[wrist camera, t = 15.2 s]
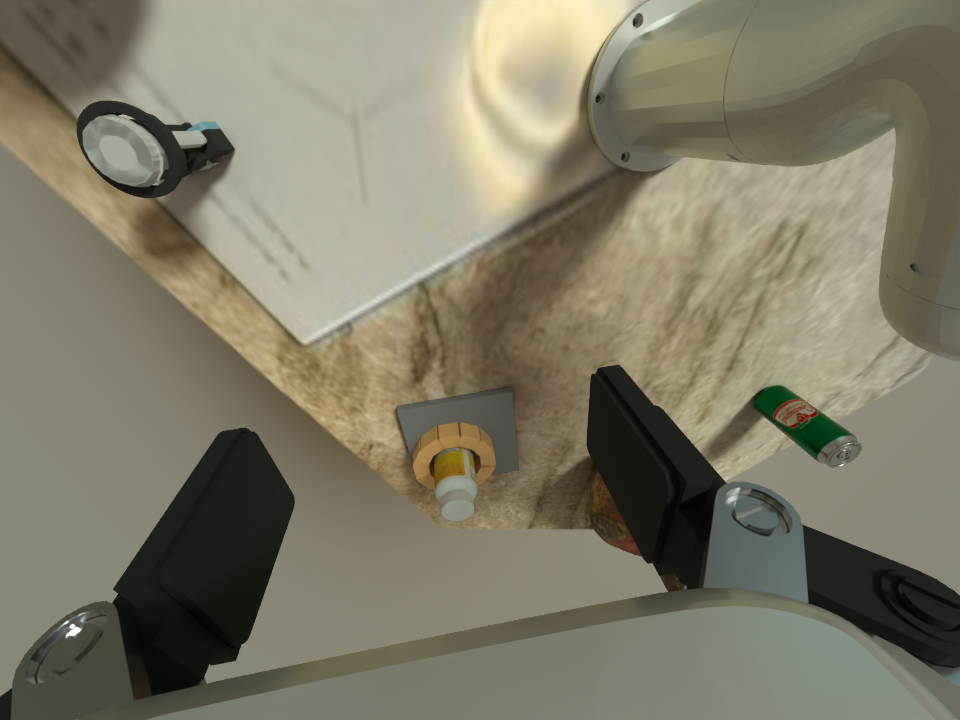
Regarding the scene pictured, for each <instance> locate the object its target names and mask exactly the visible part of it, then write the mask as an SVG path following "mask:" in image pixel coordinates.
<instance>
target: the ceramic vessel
mask: <svg viewBox="0 0 960 720" xmlns="http://www.w3.org/2000/svg"><path fill="white" fill-rule="evenodd" d="M590 504H591V512H592V514H591V522H592V526H593V528H594V530H595V531H596V533H597V534H598V535H599V536H600V537H601V538H602V539H603V540H604V541H605V542H606V543H608V544H609V545H612V546H614V547H617V548H620V549H622V550H624V551H626V552H629V553H632V554H634V555H638V556H642V555H641V553H640V551H639V549H638V547H637V545H636V544H635V542H634V540H633V538H632V536H631V534H630V532H629V530H628V528H627V526H626V524H625V522H624V520H623V518H622V516H621V514H620V512H619V511H618V509H617V507H616V505H615V503H614V501H613V499H612V497H611V495H610V493H609V491H608V489H607V487H606V485H605V483H604V481H603V479H602V478H601V476H600V474H599V472H597V474H596V476H595V478H594V481H593V484H592V487H591V492H590ZM660 577H661V579H662V581H663V583H664V585H665V587H666V589H667V590H668V592H673V591H681V590H684V586H685V585H683V584H681V583H680V581H679V580H678V578H677V576H676V574H675V573H671V574H666V575H661V576H660Z"/></svg>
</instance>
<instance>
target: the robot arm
mask: <svg viewBox="0 0 960 720" xmlns="http://www.w3.org/2000/svg"><path fill="white" fill-rule="evenodd" d="M633 20H634V21H635V26H633ZM596 96H598V97H599V100H598V102H596V100H595V98H596ZM587 107H588V120H589V124H590V128H591V132H592V135H593V137H594V140H595V142H596V144H597V146H598V147H599V149H600V150H601V151H602V153H603V154H604V155H605V157H607V158H608V159H609V160H610V161H611V162H613V163H614V164H616V165H618V166H620V167H622V168H624V169H628V170H632V171H642V172H647V171H654V170H659V169H662V168H664V167H667V166H670V165H671V164H673V163H675V162H677V161H678V160H680V159H682V158H683V157H689V158H700V159H710V160H720V161H730V162H740V163H751V164H761V165H775V166H807V165H814V164H819V163H822V162H826V161H829V160H832V159H836V158H838V157H841V156H844V155H846V154H848V153H851V152H853V151H855V150H857V149H859V148H861V147H863V146H864V145H866V144H868V143H870V142H872V141H874V140H876V139H877V138H879V137H881V136H882V135H884V134H885V133H887V132H889V131H890V130H892V129H893V128H895V132H896V146H895V155H894V163H893V171H892V175H893V183H892V190H891V197H890V203H889V210H888V216H887V223H886V230H885V236H884V243H883V250H882V256H881V268H880V275H879V300H880V305H881V308H882V311H883V314H884V316H885V318H886V319H887V321H888V322H889V324H890V325H891V327H892V328H893V329H894V330H895V331H896V332H897V333H898V334H900V335H901V336H902V337H903V338H905V339H906V340H908V341H909V342H911V343H912V344H914V345H916V346H918V347H920V348H922V349H924V350H927V351H929V352H931V353H934V354H936V355H939V356H942V357H945V358H948V359H951V360H954V361H958V362H960V0H647V1H645V2H643V3H642V4H640V5H639V6H637V7H636V8H634V9H633V10H632V11H630V12H629V13H628V14H627V15H626V16H625V17H624V18H623V19H622V20H621V21H620V22H619V23H618V24H617V26H616V27H615V28H614V30H613V31H612V32H611V34H610V35H609V36H608V38H607V40H606V41H605V43H604V45H603V47H602V49H601V50H600V52H599V55H598V57H597V60H596V62H595V65H594V68H593V70H592V75H591V79H590V84H589V89H588V102H587ZM622 154H623V158H622V159H621V156H622ZM587 448H588V452H589V454H590V456H591V458H592V460H593V462H594V464H595V466H596V468H597V470H598V472H599V474H600V476H601V478H602V479H603V481H604V483H605V485H606V487H607V489H608V491H609V493H610V495H611V497H612V499H613V501H614V503H615V505H616V507H617V509H618V511H619V512H620V514H621V516H622V518H623V520H624V522H625V524H626V526H627V528H628V530H629V532H630V534H631V536H632V538H633V540H634V542H635V544H636V545H637V547H638V549H639V551H640V553H641V555H642V557H643V559H644V560H645V561H646V562H647V563H653V565H654V567H655V568H656V571H657V572H658V574H659V576H661V575H666V574H671V573H675V574H676V576H677V578H678V580H679V581H680V583H681V584H683V585H685V586H684V590H681V591H673V592H665V593H658V594H652V595H647V596H641V597H635V598H630V599H624V600H618V601H613V602H608V603H602V604H596V605H590V606H586V607H580V608H575V609H570V610H565V611H560V612H555V613H550V614H545V615H540V616H535V617H530V618H524V619H519V620H514V621H509V622H504V623H499V624H495V625H489V626H484V627H479V628H474V629H469V630H464V631H459V632H455V633H449V634H444V635H440V636H435V637H429V638H424V639H420V640H414V641H410V642H405V643H400V644H395V645H390V646H385V647H381V648H376V649H370V650H365V651H360V652H356V653H350V654H346V655H341V656H337V657H331V658H326V659H321V660H317V661H312V662H307V663H302V664H297V665H293V666H288V667H283V668H278V669H274V670H269V671H264V672H259V673H254V674H249V675H245V676H240V677H235V678H230V679H226V680H221V681H216V682H212V683H208V684H207V683H206V680H205V678H204V676H205V673H206V671H207V668H208V666H209V664H210V665H217V664H222V663H227V662H232V661H236V658H237V656H238V653H239V650H240V647H241V645H242V644H244V643H245V642H246V641H247V640H248V638H249V636H250V634H251V631H252V628H253V625H254V622H255V619H256V616H257V613H258V610H259V607H260V605H261V602H262V599H263V596H264V593H265V590H266V587H267V584H268V581H269V578H270V576H271V573H272V570H273V567H274V564H275V561H276V558H277V555H278V552H279V549H280V546H281V543H282V541H283V538H284V535H285V532H286V529H287V526H288V523H289V520H290V517H291V515H292V512H293V508H294V503H295V500H294V495H293V493H292V492H291V490H290V488H289V486H288V485H287V483H286V481H285V480H284V478H283V476H282V475H281V473H280V471H279V470H278V468H277V466H276V465H275V463H274V461H273V460H272V458H271V456H270V455H269V453H268V451H267V450H266V448H265V446H264V445H263V443H262V441H261V440H260V438H259V436H258V435H257V433H255V432H251V431H250V430H249V429H247V428H239V429H234V430H227V431H222V432H220V433H219V434H218V435H217V436H216V438H215V439H214V441H213V443H212V444H211V445H210V447H209V448H208V450H207V451H206V453H205V454H204V456H203V457H202V459H201V460H200V462H199V463H198V465H197V466H196V467H195V469H194V471H193V472H192V473H191V475H190V476H189V478H188V479H187V481H186V482H185V484H184V485H183V487H182V488H181V490H180V491H179V492H178V494H177V495H176V497H175V498H174V500H173V501H172V503H171V504H170V506H169V507H168V509H167V510H166V512H165V513H164V515H163V516H162V518H161V519H160V521H159V522H158V524H157V525H156V526H155V528H154V529H153V531H152V532H151V534H150V535H149V537H148V538H147V540H146V541H145V543H144V544H143V546H142V547H141V549H140V550H139V552H138V553H137V554H136V556H135V558H134V559H133V560H132V562H131V563H130V565H129V566H128V568H127V569H126V571H125V572H124V574H123V575H122V577H121V578H120V580H119V581H118V582H117V584H116V586H115V587H114V589H113V590H114V591H116V592H117V593H118V595H117V596H116V598H115V600H114V601H113V603H110V602H107V601H101V602H94V603H91V604H89V605H86V606H83V607H81V608H79V609H77V610H75V611H74V612H72V613H70V614H68V615H67V616H65V617H64V618H62V619H61V620H60V621H58V622H57V623H56V624H54V625H53V626H52V627H51V628H50V629H48V630H47V631H46V632H45V633H44V634H43V635H42V636H41V637H40V638H39V639H38V640H37V641H36V642H35V643H34V644H33V646H32V647H31V648H30V649H29V650H28V652H27V653H26V654H25V655H24V657H23V659H22V660H21V662H20V664H19V666H18V667H17V669H16V672H15V675H14V679H13V685H12V688H11V689H10V690H9V691H8V692H6V693H5V694H3V695H2V696H1V697H0V720H960V596H959V595H958V594H957V593H956V592H955V591H954V590H952V589H950V588H949V587H947V586H946V585H944V584H943V583H941V582H940V581H938V580H937V579H934V578H933V577H930V576H928V575H926V574H924V573H922V572H920V571H918V570H915V569H913V568H910V567H908V566H905V565H903V564H900V563H898V562H895V561H893V560H890V559H888V558H885V557H882V556H880V555H877V554H875V553H872V552H870V551H868V550H865V549H862V548H860V547H857V546H855V545H852V544H850V543H847V542H845V541H842V540H840V539H837V538H835V537H832V536H830V535H827V534H825V533H822V532H820V531H817V530H815V529H812V528H809V527H807V526H804V525H802V522H801V519H800V516H799V515H798V513H797V512H796V510H795V509H794V507H793V506H792V505H791V504H790V503H789V502H787V501H786V500H785V499H784V498H783V497H782V496H780V495H778V494H777V493H775V492H774V491H772V490H770V489H768V488H765V487H763V486H760V485H758V484H753V483H749V482H731V483H728V484H727V483H726V482H725V481H724V480H723V479H722V478H721V476H720V475H719V474H718V473H717V472H716V471H715V469H714V468H713V467H712V466H711V465H710V464H709V462H708V461H707V460H706V459H705V458H704V457H703V455H702V454H701V453H700V452H699V451H698V450H697V449H696V447H695V446H694V445H693V444H692V443H691V442H690V440H689V439H688V438H687V437H686V436H685V435H684V433H683V432H682V431H681V430H680V429H679V428H678V426H677V425H676V424H675V423H674V422H673V421H672V420H671V418H670V417H669V416H668V415H667V414H666V413H665V411H664V410H663V409H661V408H660V407H659V406H656V405H655V406H654V405H653V404H652V402H651V401H650V400H649V399H648V398H647V397H646V395H645V394H644V393H643V392H642V391H641V389H640V388H639V387H638V386H637V385H636V383H635V382H634V381H633V380H632V379H631V378H630V376H629V375H628V374H627V373H626V372H625V370H624V369H623V368H622V367H621V366H620V365H613V366H607V367H601V368H598V369H597V372H596V374H592V376H591V382H590V397H589V413H588V428H587Z"/></svg>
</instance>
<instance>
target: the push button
mask: <svg viewBox="0 0 960 720" xmlns="http://www.w3.org/2000/svg"><path fill="white" fill-rule="evenodd" d="M122 114H124V115H127V116H130V117H132V118H134V119H127V118H124V117H120V116H119V115H122ZM77 137H78V141H79V144H80V147H81V150H82V152H83V154H84V156H85V157H86V159H87V161H88V162H89V163H90V165H91V166H92V167H93V169H94V170H95V171H96V172H97V173H98V174H99V175H100V176H101V177H102V178H103V179H104V180H106V181H107V182H108V183H110V184H111V185H112V186H114V187H116V188H117V189H119V190H121V191H123V192H125V193H127V194H130V195H133V196H136V197H141V198H157V197H161V196H164V195H167V194H169V193H170V192H172V191H173V190H174V189H175V188H176V187H177V185H178V184H179V182H180V181H181V179H182V178H183V177H184V176H186V175H188V174H190V173H192V171H194V170H198V169H200V170H206V169H210V168H212V167H214V166H215V165H217V164H219V162H214V163H211V162H210V161H209V159H211V158H213V157H217V156H221V155H225V154H228V153H230V152H231V151H233V150H234V149H235V148H234V147H233V146H232V144H231V143H230V142H229V140H228V139H227V137H226V136H225V135H224V133H223V132H222V131H221V129H220V128H219V127H218V125H217V124H216V123H215V122H200V123H198V124H196V125H194V126H193V127H192V126H191V124H190V123H184V124H182V125H165V124H164V123H163V122H161V121H160V120H159V119H158V118H156V117H155V116H154V115H151V114H148V113H146V112H144V111H142V110H140V109H139V108H136V107H134V106H132V105H129V104H126V103H123V102H117V101H99V102H95V103H92V104H90V105H89V106H87V107H86V108H85V109H84V110H83V111H82V113H81V114H80V116H79V119H78V122H77ZM162 179H165V180H164V181H163V182H162V183H161V184H160V185H158V186H155V185H153V184H155V183H157V182H158V181H159V180H162Z"/></svg>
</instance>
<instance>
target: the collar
mask: <svg viewBox="0 0 960 720" xmlns="http://www.w3.org/2000/svg"><path fill="white" fill-rule="evenodd" d="M453 447H463V448H467V449H472V450H473V451H474V452H475V453H476V454H477V455H478V456H477V458H476V459H475V461H474V466H475V473H476V480H477V487H478V486H479V485H481V484H483V483H484V482H486V479H487V480H488V479H489V477H490V476H491V474H492V472H493V471H494V469H495V468H496V460H495V452H494V448H493V443H492V439H491V437H490V436H489V435H487V434H486V433H485V432H484V431H483V430H482V429H481V428H480V427H479V428H478V426H475V425H471V424H467V423H462V422H460V423H459V425H458V422H454V423H448V424H442V425H438V427H436V426H435V427H434V428H432V429H431V430H429V431H428V432H426V433H425V434H423V435H422V436H421V438H419V440H418V442H417V444H416V447H415V449H414V451H413V469H414V472H415V476H416V479H417V480H418V482H420V483H421V484H422V485H424V486H425V487H427V488H428V489H429V490H431V489H432V491H435V472H434V464H433V463H432V462H431V460H432V458H433V456H434V455H436V454H437V453H439V452H441V451H442V450H444V449H448V448H453Z"/></svg>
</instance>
